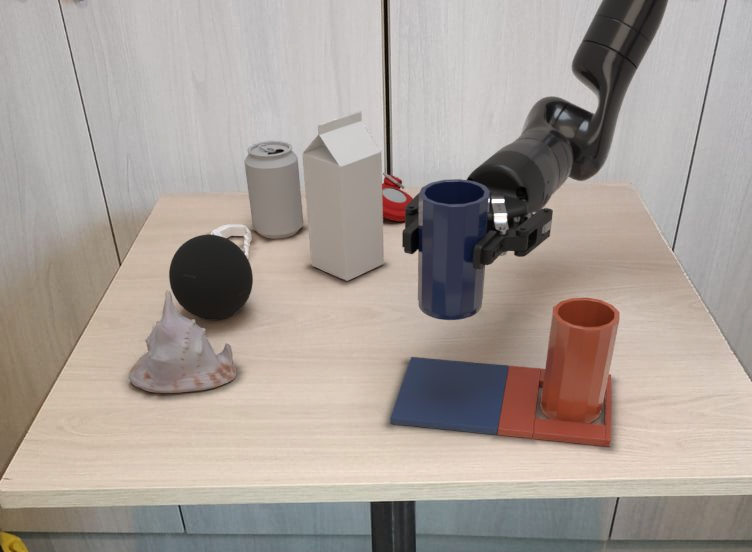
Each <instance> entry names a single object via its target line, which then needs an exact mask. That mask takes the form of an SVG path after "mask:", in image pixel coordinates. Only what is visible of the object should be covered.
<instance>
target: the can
mask: <svg viewBox="0 0 752 552" xmlns="http://www.w3.org/2000/svg"><path fill="white" fill-rule="evenodd" d="M247 153H248V154H247V155H246V157H245V159H244V169H245V177H246V184H247V191H248V199H249V206H250V207H249V208H250V215H251V223H252V228H253V231H255V232H257V233H258V234H259V235H260V236H262V237H264V238H266V239H272V240H273V239H274V240H275V239H277V240H278V239H279V240H280V239H285V238H289V237H291V236H292V237H293V236H294V235H296V234H297V233H298V232H299V230H300V229H302V227H303V226H304V214H303V201H302V192H301V181H300V180H301V179H300V169H299V158H298V155H297V154H296V153H295V152H294V151H293V146H292V144H290V143H289V142H286V141H283V140H264V141H260V142H255V143H253V144H252V145H250V146H249V147H248V148H247Z"/></svg>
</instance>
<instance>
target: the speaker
mask: <svg viewBox="0 0 752 552" xmlns="http://www.w3.org/2000/svg"><path fill="white" fill-rule="evenodd" d="M244 253H245V252H244V250H242V249H241V247H240V246H238V244H236V243H235V242H233V241H232V240H230V239H229V238H224V237H221V236H217V235H211V234H200V235H196V236H194V237H191V238H189V239H188V240H187V241H185V242H184V243H182V244H181V245H180V246H179V247H178V248H177V250H176V251H175V253H174V255H173V256H172V259H171V261H170V265H169V270H168V273H169V274H168V279H169V280H168V281H169V286H170V289H171V293H172V295H173V297H174V298H175V300H176V301H177V302H178V304H179V305H180V307H182V308H183V309H184V310H185V311H186V312H187V313H189V314H191V315H192V316H194V317H196V318H199V319H202V320H207V321H219V320H224V319H227V318H230V317H231V316H234V315H235V314H237V313H238V312H240V310H241V309H242V308H243V307H244V306H245V305H246V303H247V302H248V300H249V299H250V296H251V294H252V290H253V285H254V284H253V283H254V278H253V277H254V275H253V269H252V266H251V263H250V261H249V259H247V257H246V255H245V254H244Z"/></svg>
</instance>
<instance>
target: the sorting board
mask: <svg viewBox="0 0 752 552" xmlns="http://www.w3.org/2000/svg"><path fill="white" fill-rule="evenodd" d="M544 374H545V368H541V367H540V368H539V367H532V366H531V367H530V366H519V365H508V364H497V363H484V362H474V361H465V360H464V361H462V360H451V359H441V358H427V357H418V356H411V357H410V359H409V362H408V365H407V368H406V371H405V373H404V377H403V379H402V382H401V386H400V388H399V391H398V394H397V396H396V400H395V403H394V406H393V409H392V412H391V415H390V418H389V419H390V420H389V422H390V423H389V424H390V425H398V426H408V427H418V428H428V429H436V430H437V429H438V430H445V431H446V430H448V431H455V432H466V433H475V434H485V435H495V436H497V435H498V436H504V437H505V436H506V437H515V438H516V437H517V438H525V439H534V440H541V441H542V440H543V441H551V442H553V441H554V442H560V443H561V442H563V443H573V444H581V445H590V446H592V445H593V446H599V447H601V446H602V447H610V446H611V442H612V374H610V373H609V376H608V381H607V386H606V391H605V396H604V424H600V423H599V424H597V423H579V422H569V421H559V420H551V419H549V418H537V417H536V413H537V403H538V397H539V387H542V388H543V381H544Z"/></svg>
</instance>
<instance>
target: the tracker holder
mask: <svg viewBox="0 0 752 552" xmlns="http://www.w3.org/2000/svg"><path fill="white" fill-rule="evenodd" d="M382 176H384V178H383V182H382V205H383V219H387V220H391V221H395V222H405V206H406V205H407V204H408V203H409V202H410V201H411V200H412V199H413V198H414V197H413V196H411V195H410V194H409V193H407V192H406V191H404V189H405V186H404V185H403V180H402V179H401V178H400V177H398V176H397V175H396V176H395V175H393V174H388V173H386V171H385V172H384V171H383V172H382ZM402 189H403V190H402Z"/></svg>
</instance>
